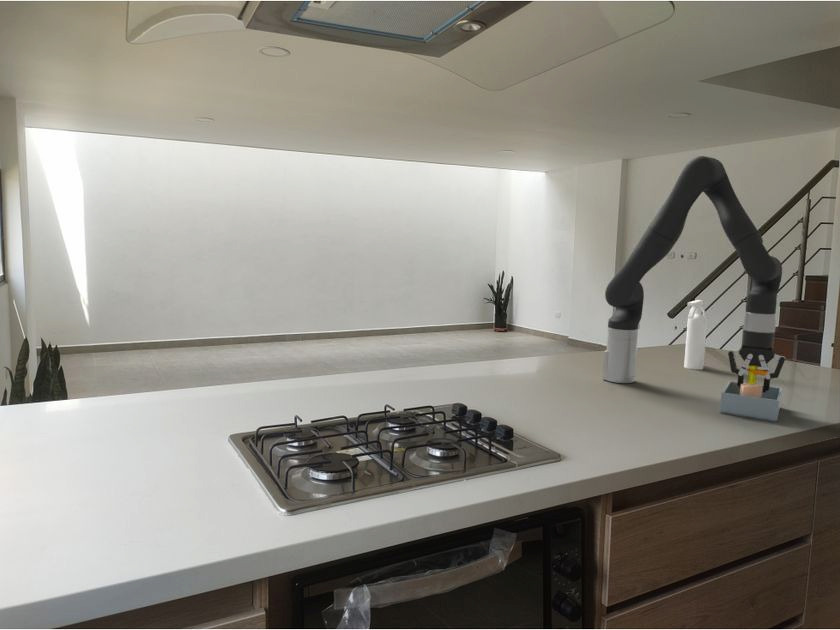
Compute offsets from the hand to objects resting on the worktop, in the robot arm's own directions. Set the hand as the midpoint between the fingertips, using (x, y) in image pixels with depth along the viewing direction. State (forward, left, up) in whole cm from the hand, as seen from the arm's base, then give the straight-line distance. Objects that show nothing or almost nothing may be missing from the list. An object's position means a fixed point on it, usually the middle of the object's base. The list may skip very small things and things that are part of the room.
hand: (752, 390), depth 161 cm
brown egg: (0, -8, -4) cm, 9 cm away
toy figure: (0, 0, -3) cm, 3 cm away
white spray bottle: (-22, +49, -5) cm, 54 cm away
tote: (0, -4, -5) cm, 6 cm away
